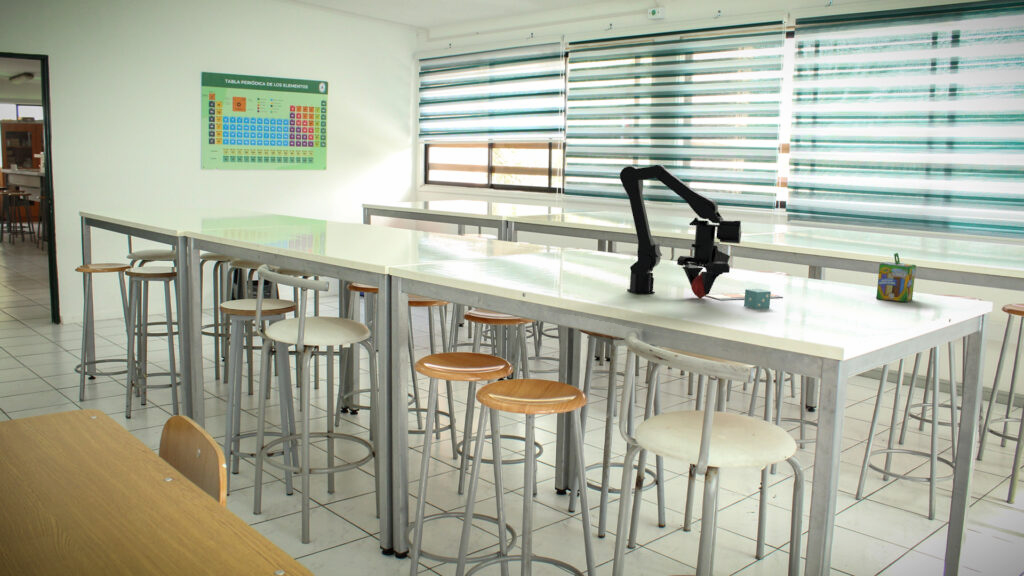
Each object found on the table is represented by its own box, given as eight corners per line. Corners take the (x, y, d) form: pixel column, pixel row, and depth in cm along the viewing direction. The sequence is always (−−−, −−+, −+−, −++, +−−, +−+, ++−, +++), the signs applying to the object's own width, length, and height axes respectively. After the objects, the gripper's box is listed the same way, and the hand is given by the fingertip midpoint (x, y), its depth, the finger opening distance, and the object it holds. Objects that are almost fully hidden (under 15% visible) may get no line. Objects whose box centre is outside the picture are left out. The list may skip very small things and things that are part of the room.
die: (755, 309, 226) (756, 292, 225) (743, 306, 230) (745, 289, 230) (769, 308, 228) (771, 291, 227) (757, 305, 232) (759, 288, 232)
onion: (710, 300, 237) (712, 274, 236) (690, 299, 238) (692, 272, 237) (709, 297, 243) (711, 271, 242) (690, 296, 244) (692, 270, 243)
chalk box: (906, 303, 247) (911, 256, 245) (875, 299, 253) (880, 253, 250) (913, 299, 254) (918, 254, 252) (882, 296, 260) (888, 251, 257)
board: (720, 300, 238) (720, 299, 238) (702, 295, 246) (702, 294, 246) (782, 297, 247) (782, 296, 247) (763, 293, 256) (763, 291, 256)
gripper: (746, 244, 232) (742, 296, 235) (707, 237, 249) (703, 286, 252) (715, 244, 228) (711, 298, 231) (678, 238, 245) (674, 287, 247)
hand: (700, 292), depth 240 cm, fingers closed on onion, 6 cm apart
